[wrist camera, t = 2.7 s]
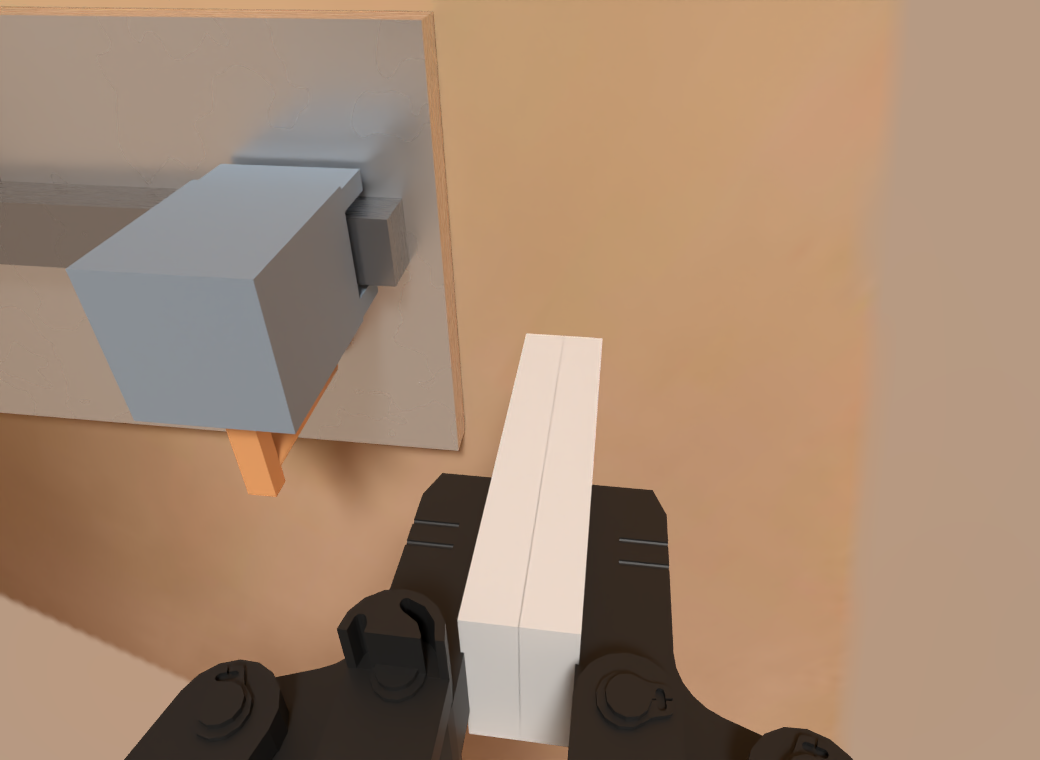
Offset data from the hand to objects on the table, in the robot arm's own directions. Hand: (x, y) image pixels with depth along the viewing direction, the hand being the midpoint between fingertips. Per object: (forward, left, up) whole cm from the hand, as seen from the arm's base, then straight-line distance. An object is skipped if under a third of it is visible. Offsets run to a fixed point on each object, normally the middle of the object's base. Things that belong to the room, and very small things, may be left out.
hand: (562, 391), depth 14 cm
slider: (+1, -8, -6) cm, 10 cm away
